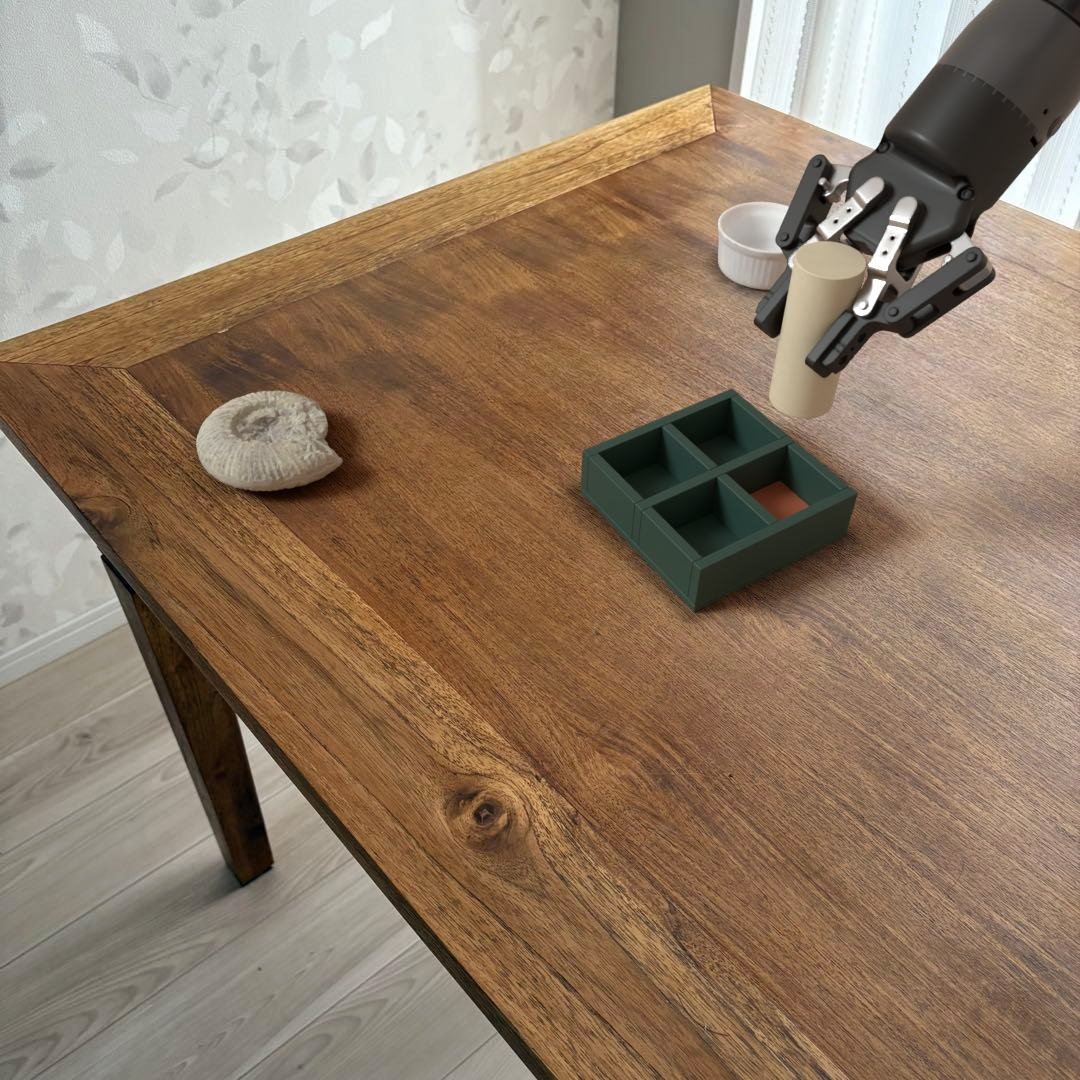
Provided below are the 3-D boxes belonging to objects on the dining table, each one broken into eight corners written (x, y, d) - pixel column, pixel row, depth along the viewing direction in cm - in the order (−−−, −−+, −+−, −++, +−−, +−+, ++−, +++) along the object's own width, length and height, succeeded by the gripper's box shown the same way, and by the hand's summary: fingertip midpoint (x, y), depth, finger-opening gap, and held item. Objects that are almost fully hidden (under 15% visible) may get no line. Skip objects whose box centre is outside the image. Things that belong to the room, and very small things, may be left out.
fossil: (365, 420, 80) (252, 499, 75) (374, 456, 82) (266, 534, 78) (272, 352, 85) (162, 423, 81) (284, 388, 88) (178, 458, 84)
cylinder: (846, 405, 69) (882, 265, 62) (797, 427, 68) (828, 286, 61) (803, 372, 72) (833, 233, 65) (755, 392, 70) (780, 253, 63)
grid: (846, 535, 77) (858, 492, 75) (693, 612, 72) (700, 570, 70) (725, 430, 85) (732, 387, 82) (580, 493, 80) (582, 450, 77)
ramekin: (762, 233, 106) (769, 191, 103) (830, 274, 101) (840, 232, 98) (692, 261, 102) (697, 219, 99) (759, 306, 97) (766, 263, 94)
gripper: (875, 21, 63) (683, 269, 67) (1080, 118, 55) (847, 394, 59) (918, 92, 69) (740, 316, 73) (1110, 189, 60) (896, 436, 65)
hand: (789, 349), depth 66 cm, fingers closed on cylinder, 4 cm apart
